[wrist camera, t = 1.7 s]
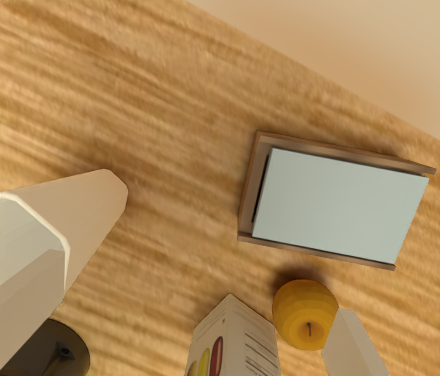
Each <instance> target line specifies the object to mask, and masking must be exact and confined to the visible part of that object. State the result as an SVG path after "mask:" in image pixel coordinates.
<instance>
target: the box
mask: <svg viewBox="0 0 440 376" xmlns="http://www.w3.org/2000/svg"><path fill="white" fill-rule="evenodd" d="M272 146H273V147H278V148H283V149H288V150H294V151H299V152H304V153H309V154H314V155H320V156H325V157H330V158H335V159H341V160H346V161H351V162H356V163H362V164H367V165H372V166H377V167H382V168H388V169H393V170H398V171H403V172H409V173H414V174H419V175H422V176H425V174H426V173H428V174H433V175H434V174H435V172H436V169H435V168H432V167H429V166H425V165H422V164H419V163H416V162H413V161H409V160H406V159H403V158H400V157H396V156H391V155H386V154H380V153H375V152H370V151H365V150H359V149H354V148H349V147H344V146H339V145H333V144H328V143H323V142H318V141H312V140H307V139H302V138H297V137H291V136H286V135H281V134H276V133H270V132H265V131H260V130H256V134H255V139H254V143H253V148H252V152H251V157H250V162H249V166H248V171H247V176H246V180H245V185H244V189H243V194H242V199H241V203H240V208H239V213H238V230H237V240H238V241H243V242H248V243H253V244H258V245H263V246H268V247H274V248H279V249H284V250H289V251H294V252H299V253H304V254H309V255H314V256H320V257H325V258H330V259H335V260H340V261H345V262H350V263H355V264H361V265H366V266H371V267H376V268H381V269H386V270H391V271H394V269H395V267H396V266H395V265H394V264H392V263H387V262H381V261H376V260H371V259H366V258H361V257H356V256H351V255H346V254H340V253H335V252H330V251H325V250H320V249H315V248H310V247H305V246H299V245H294V244H289V243H284V242H279V241H274V240H269V239H264V238H258V237H253V236H252V227H253V223H254V219H255V215H256V210H257V206H258V202H259V198H260V193H261V189H262V185H263V181H264V176H265V172H266V168H267V164H268V160H269V155H270V151H271V147H272Z"/></svg>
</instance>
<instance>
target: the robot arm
mask: <svg viewBox="0 0 440 376" xmlns="http://www.w3.org/2000/svg"><path fill="white" fill-rule="evenodd" d="M64 276H65V252H63V251H58V250H53V249H48V250H47V251H46V252H44V253H43V254H42V255H40V256H39V257H38V258H36V259H35V260H34V261H32V262H31V263H30V264H28V265H27V266H26V267H24V268H23V269H22V270H20V271H19V272H18V273H16V274H15V275H14V276H12V277H11V278H10V279H8V280H7V281H6V282H4V283H3V284H2V285H0V376H86V374H87V372H88V369H89V365H90V358H89V353H88V350H87V348H86V346H85V344H84V343H83V341H82V340H81V339H80V337H79V336H78V335H77V334H76V333H74V332H73V331H72V330H71V329H69V328H68V327H66V326H64V325H63V324H61V323H58V322H56V321H53V320H49V319H47V318H48V317H49V316H50V315H51V314H52V312H53V311H54V310H55V309H56V308H57V307H58V306H59V305H60V304H61V302H62V301H63V300H64ZM322 356H323V359H324V362H325V365H326V368H327V371H328V374H329V376H391V375H390V373H389V371H388V369H387V368H386V366H385V364H384V362H383V361H382V359H381V357H380V355H379V353H378V352H377V350H376V348H375V346H374V345H373V343H372V341H371V339H370V337H369V336H368V334H367V332H366V330H365V329H364V327H363V325H362V323H361V321H360V320H359V318H358V316H357V314H356V313H355V311H351V310H346V309H341V308H338V311H337V313H336V316H335V319H334V321H333V324H332V327H331V329H330V332H329V335H328V337H327V340H326V343H325V345H324V348H323V350H322Z"/></svg>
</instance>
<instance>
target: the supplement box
mask: <svg viewBox="0 0 440 376" xmlns="http://www.w3.org/2000/svg"><path fill="white" fill-rule="evenodd" d="M184 376H281V370H280V363H279V357H278V350H277V343H276V336H275V330H274V325H273V324H271V323H270V322H269V321H267V320H266V319H264V318H263V317H262V316H260V315H259V314H258V313H256V312H255V311H253V310H252V309H251V308H249V307H248V306H247V305H245V304H244V303H243V302H241V301H240V300H238V299H237V298H236V297H234V296H233V295H232V294H230V293H229V294H228V295H227V296H226V297H225V298H224V299H223V300H222V301H221V302H220V303H219V304H218V305H217V306H216V307H215V308H214V309H213V310H212V311H211V312H210V313H209V314H208V315H207V316H206V317H205V318H204V319H203V320H202V321H201V322H200V323H199V324H198V325H197V326H196V327H195V328H194V332H193V337H192V341H191V346H190V351H189V356H188V361H187V365H186V370H185V375H184Z"/></svg>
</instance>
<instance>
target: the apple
mask: <svg viewBox="0 0 440 376" xmlns="http://www.w3.org/2000/svg"><path fill="white" fill-rule="evenodd" d="M338 308H339V306H338V303H337V301H336V299H335V297H334V295H333V294H332V293H331V292H330V291H329V289H328V288H327V287H326V286H324V285H322V284H320V283H318V282H316V281H313V280H304V279H300V280H293V281H289V282H288V283H286V284H284V285H283V286H282V287H281V288H280V289H279V290H278V291H277V293H276V295H275V297H274V300H273V305H272V314H273V320H274V326H275V328H276V330H277V331H278V333H279V334H280V336H281V337H282V338H283V340H285V341H286V342H287V343H288V344H290V345H291V346H292V347H294V348H296V349H300V350H311V351H316V350H320V349H323V348H324V345H325V343H326V340H327V337H328V335H329V332H330V329H331V327H332V324H333V321H334V319H335V316H336V313H337V311H338Z"/></svg>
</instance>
